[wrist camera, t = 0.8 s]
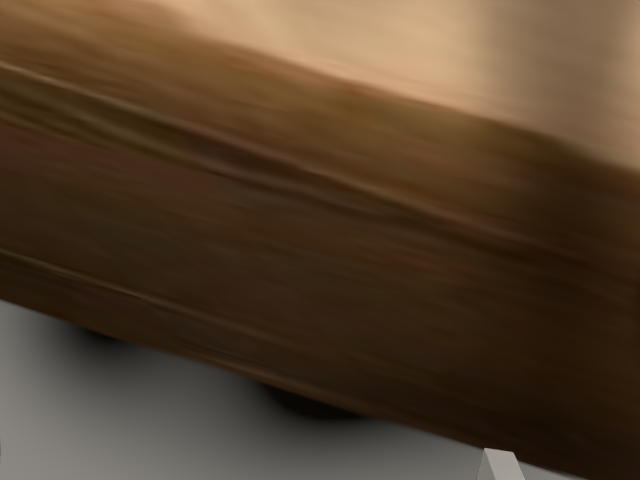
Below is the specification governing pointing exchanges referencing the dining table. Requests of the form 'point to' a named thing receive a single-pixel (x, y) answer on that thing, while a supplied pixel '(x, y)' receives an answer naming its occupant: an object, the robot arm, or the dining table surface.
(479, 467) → the robot arm
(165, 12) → the dining table surface
